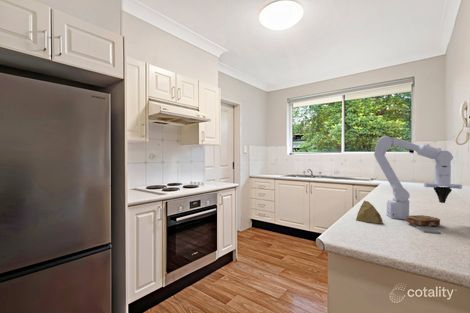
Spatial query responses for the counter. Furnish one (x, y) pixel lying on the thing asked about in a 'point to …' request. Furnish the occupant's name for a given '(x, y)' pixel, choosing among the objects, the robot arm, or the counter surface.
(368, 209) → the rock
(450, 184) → the robot arm
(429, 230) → the gray sheet
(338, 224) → the counter surface
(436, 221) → the tin
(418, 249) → the counter surface
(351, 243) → the counter surface
